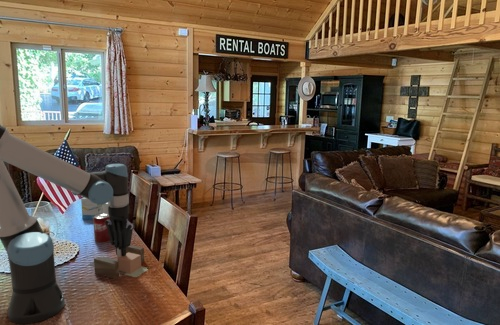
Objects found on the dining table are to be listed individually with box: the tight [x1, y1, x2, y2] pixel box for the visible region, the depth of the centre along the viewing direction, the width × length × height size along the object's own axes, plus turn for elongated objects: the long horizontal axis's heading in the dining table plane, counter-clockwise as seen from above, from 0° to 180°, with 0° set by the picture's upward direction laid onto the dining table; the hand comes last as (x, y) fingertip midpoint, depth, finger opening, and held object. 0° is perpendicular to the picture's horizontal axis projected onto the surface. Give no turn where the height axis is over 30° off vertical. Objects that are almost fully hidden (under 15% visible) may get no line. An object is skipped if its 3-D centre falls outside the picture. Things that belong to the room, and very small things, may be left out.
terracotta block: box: [118, 252, 142, 274], centre depth 141 cm, size 6×6×5 cm
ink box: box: [80, 197, 103, 220], centre depth 201 cm, size 9×8×12 cm
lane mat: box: [87, 256, 148, 278], centre depth 143 cm, size 8×24×1 cm, turn 66°
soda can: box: [92, 214, 110, 244], centre depth 167 cm, size 7×7×12 cm
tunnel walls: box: [93, 244, 145, 280], centre depth 142 cm, size 16×10×6 cm, turn 156°
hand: (121, 263), depth 142 cm, fingers closed
